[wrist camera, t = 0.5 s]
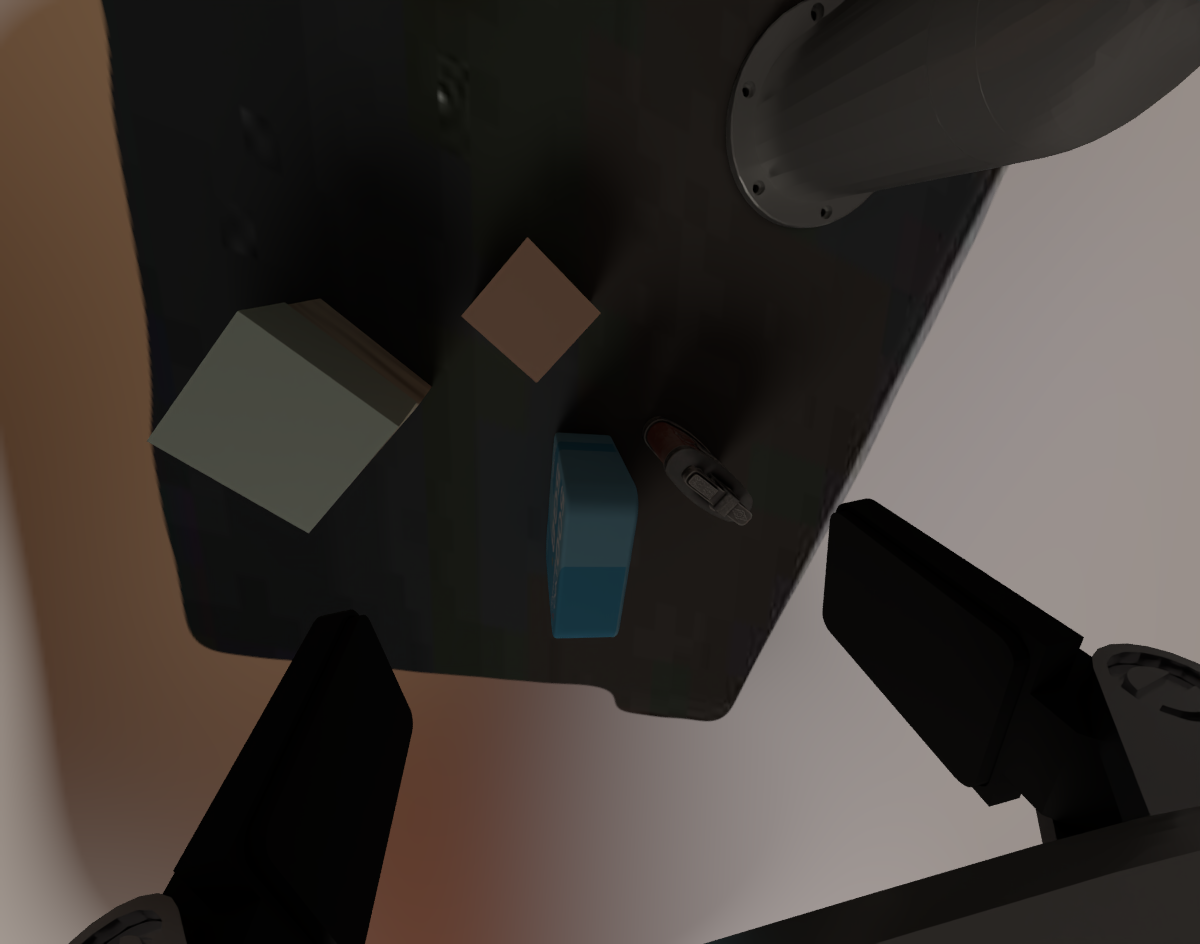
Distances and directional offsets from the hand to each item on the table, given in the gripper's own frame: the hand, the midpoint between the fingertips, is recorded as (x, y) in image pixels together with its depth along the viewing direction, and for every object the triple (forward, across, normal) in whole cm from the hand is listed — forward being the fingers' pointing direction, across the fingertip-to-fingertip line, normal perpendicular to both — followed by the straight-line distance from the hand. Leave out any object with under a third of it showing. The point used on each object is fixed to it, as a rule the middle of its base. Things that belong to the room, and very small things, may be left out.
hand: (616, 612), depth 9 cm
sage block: (+24, +15, 0) cm, 29 cm away
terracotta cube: (+29, 0, -4) cm, 29 cm away
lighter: (+29, -10, +10) cm, 32 cm away
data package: (+29, -1, +12) cm, 32 cm away
